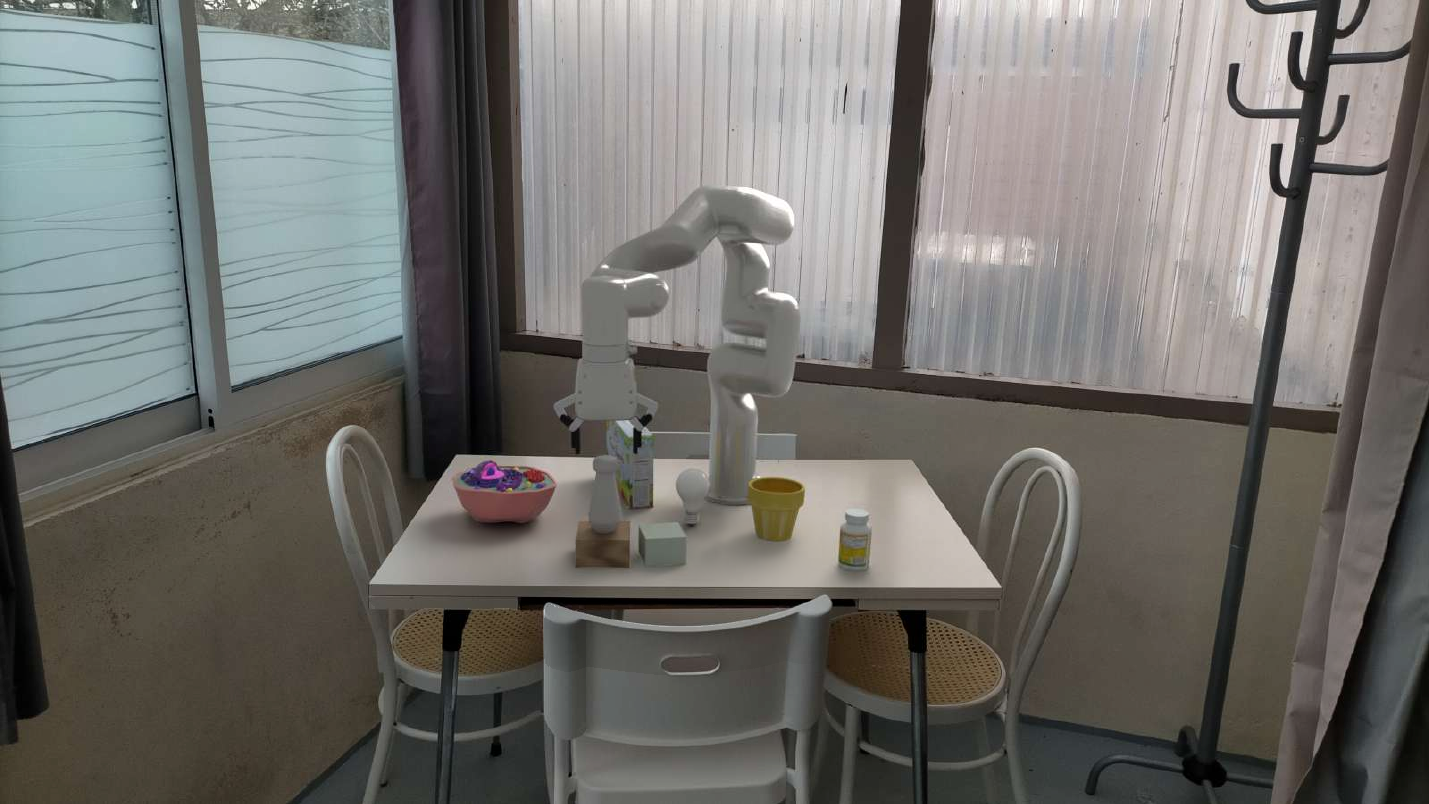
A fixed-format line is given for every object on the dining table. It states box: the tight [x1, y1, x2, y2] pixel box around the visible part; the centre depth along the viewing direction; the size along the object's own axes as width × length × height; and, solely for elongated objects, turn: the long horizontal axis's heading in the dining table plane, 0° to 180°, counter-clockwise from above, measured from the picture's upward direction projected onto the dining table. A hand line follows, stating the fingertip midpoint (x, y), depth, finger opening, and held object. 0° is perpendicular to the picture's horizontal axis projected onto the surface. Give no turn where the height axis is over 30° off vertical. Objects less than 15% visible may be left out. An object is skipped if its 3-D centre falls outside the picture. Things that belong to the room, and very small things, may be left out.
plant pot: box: [748, 476, 806, 542], centre depth 188 cm, size 10×10×10 cm
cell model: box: [451, 459, 558, 524], centre depth 191 cm, size 17×20×11 cm
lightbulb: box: [675, 467, 710, 526], centre depth 192 cm, size 6×6×11 cm
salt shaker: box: [587, 454, 623, 534], centre depth 174 cm, size 6×6×13 cm
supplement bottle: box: [837, 508, 873, 571], centre depth 176 cm, size 5×5×10 cm
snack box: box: [605, 420, 655, 510], centre depth 209 cm, size 21×6×15 cm, turn 18°
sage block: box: [637, 521, 688, 568], centre depth 176 cm, size 7×7×5 cm
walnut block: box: [575, 520, 631, 569], centre depth 176 cm, size 9×9×5 cm
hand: (606, 451), depth 172 cm, fingers open, 9 cm apart
